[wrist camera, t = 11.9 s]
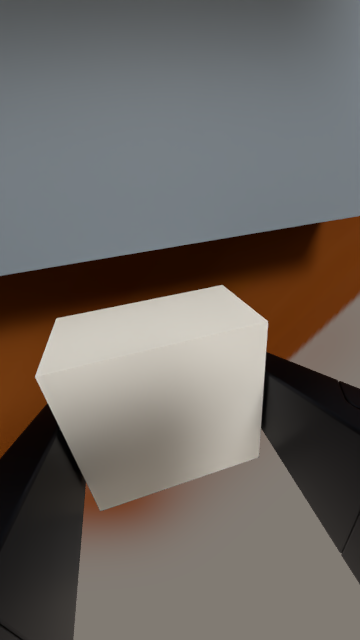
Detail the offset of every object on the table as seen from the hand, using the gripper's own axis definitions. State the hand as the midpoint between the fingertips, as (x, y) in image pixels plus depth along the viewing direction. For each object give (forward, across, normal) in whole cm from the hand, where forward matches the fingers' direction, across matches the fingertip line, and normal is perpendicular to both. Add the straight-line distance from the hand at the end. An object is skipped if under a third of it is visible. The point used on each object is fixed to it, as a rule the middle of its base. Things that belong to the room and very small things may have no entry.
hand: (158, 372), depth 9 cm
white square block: (0, 0, 0) cm, 0 cm away
